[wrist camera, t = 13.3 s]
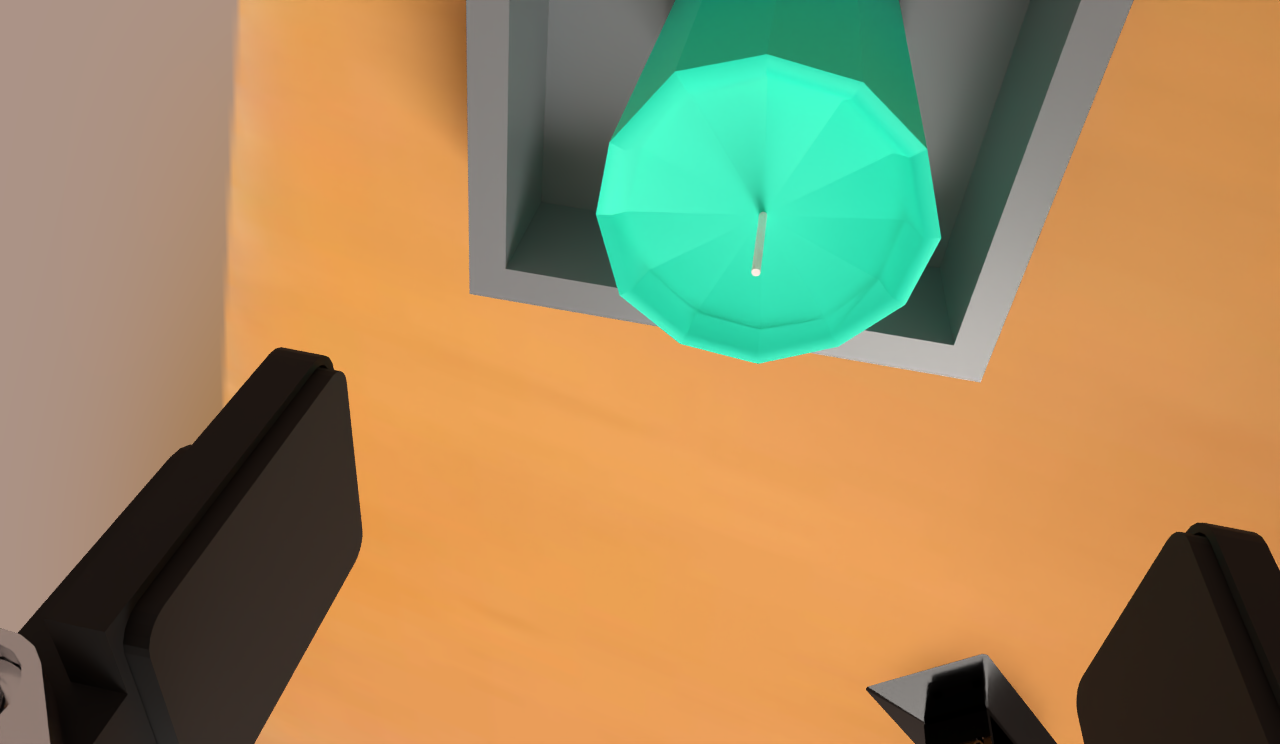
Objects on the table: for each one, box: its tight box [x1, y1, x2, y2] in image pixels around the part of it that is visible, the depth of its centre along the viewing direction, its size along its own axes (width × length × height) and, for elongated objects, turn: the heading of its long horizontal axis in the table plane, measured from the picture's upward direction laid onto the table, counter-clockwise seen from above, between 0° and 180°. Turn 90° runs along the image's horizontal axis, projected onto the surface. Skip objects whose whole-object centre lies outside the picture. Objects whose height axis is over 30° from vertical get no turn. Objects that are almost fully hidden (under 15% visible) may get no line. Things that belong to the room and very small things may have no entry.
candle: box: [596, 0, 941, 364], centre depth 20 cm, size 6×6×12 cm
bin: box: [466, 0, 1133, 382], centre depth 24 cm, size 14×14×5 cm
